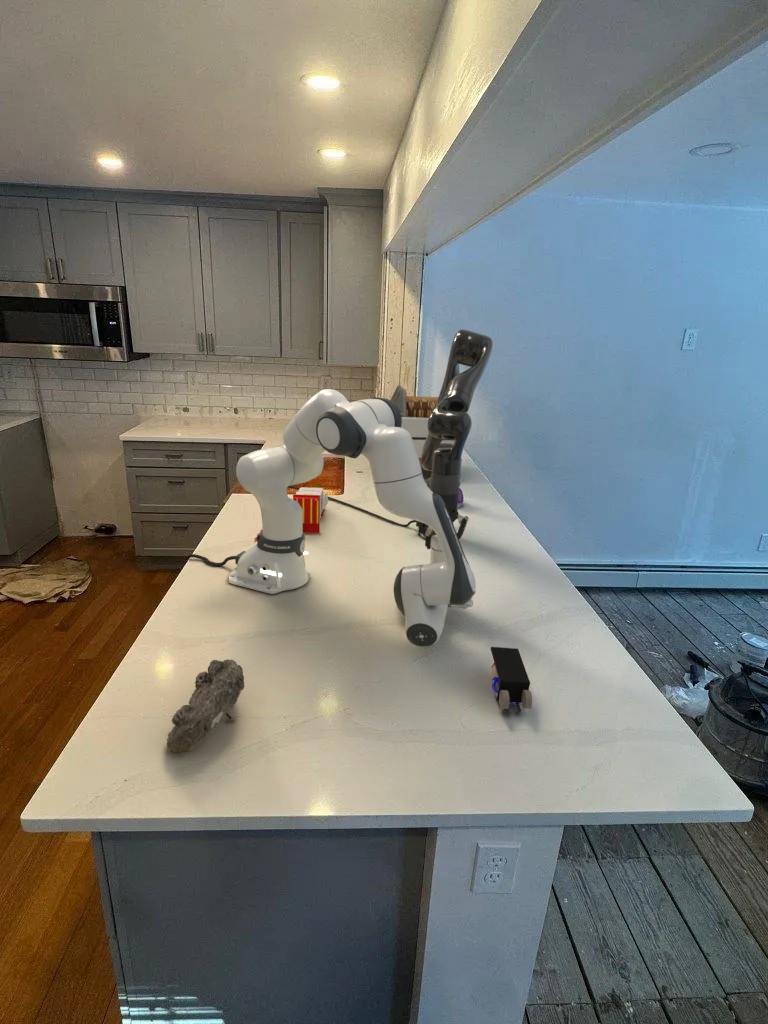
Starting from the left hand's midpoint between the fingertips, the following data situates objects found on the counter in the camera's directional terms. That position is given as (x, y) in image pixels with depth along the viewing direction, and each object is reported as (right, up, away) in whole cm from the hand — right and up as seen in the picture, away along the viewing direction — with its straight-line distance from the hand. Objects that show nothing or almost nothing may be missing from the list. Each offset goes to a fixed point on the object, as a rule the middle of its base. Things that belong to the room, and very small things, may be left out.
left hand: (437, 578), depth 154 cm
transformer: (+3, +37, +121) cm, 126 cm away
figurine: (+14, +21, +77) cm, 81 cm away
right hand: (0, +8, -4) cm, 9 cm away
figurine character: (+11, -20, -36) cm, 43 cm away
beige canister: (0, -6, +1) cm, 6 cm away
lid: (0, +11, -5) cm, 12 cm away
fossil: (-47, -21, -46) cm, 69 cm away
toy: (-42, +15, +55) cm, 71 cm away
